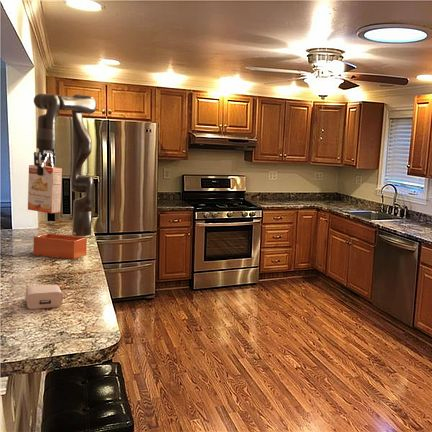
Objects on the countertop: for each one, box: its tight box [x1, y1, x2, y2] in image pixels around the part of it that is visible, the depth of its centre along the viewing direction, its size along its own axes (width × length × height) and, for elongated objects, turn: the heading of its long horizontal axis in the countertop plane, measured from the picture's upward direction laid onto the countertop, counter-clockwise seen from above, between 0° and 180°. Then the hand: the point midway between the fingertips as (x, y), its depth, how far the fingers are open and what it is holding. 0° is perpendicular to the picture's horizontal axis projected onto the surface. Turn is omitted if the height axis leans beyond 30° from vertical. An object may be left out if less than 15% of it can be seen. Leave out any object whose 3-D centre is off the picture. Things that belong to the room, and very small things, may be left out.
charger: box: [25, 283, 63, 310], centre depth 145 cm, size 5×9×15 cm
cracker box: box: [27, 164, 63, 214], centre depth 213 cm, size 14×6×21 cm, turn 72°
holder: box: [32, 233, 88, 260], centre depth 207 cm, size 11×19×8 cm, turn 85°
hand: (45, 175), depth 212 cm, fingers closed on cracker box, 6 cm apart
